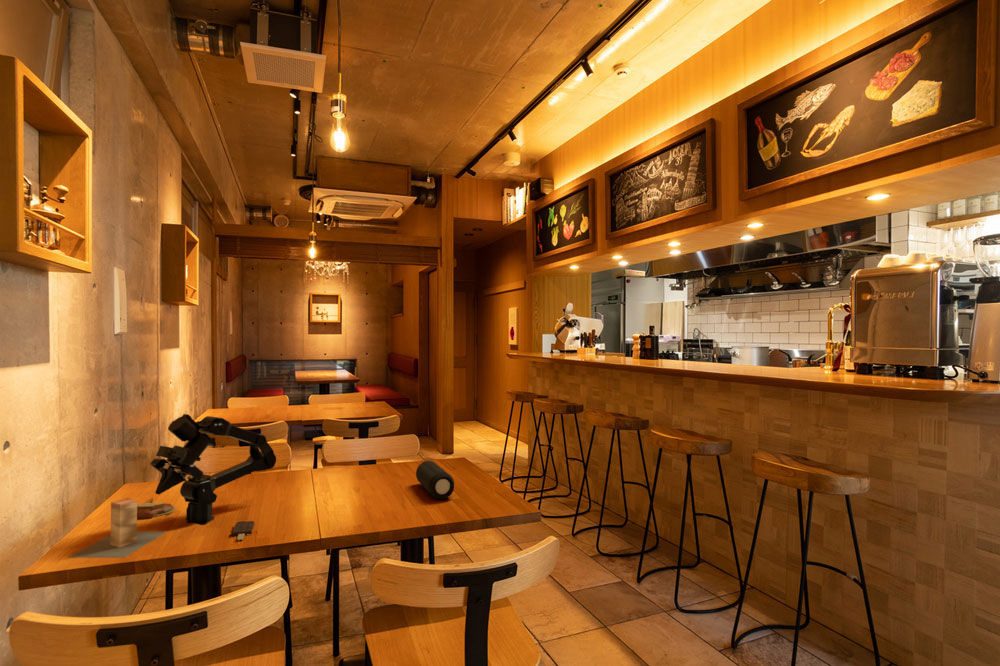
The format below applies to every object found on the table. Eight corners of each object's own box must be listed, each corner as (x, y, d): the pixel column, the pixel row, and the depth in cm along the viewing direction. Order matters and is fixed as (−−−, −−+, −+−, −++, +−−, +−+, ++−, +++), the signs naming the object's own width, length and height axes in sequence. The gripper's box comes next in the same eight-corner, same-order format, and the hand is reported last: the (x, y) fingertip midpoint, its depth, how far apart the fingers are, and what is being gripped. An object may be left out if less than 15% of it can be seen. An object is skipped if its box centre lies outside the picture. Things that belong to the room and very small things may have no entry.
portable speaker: (456, 499, 200) (456, 472, 200) (430, 502, 196) (430, 475, 196) (437, 482, 224) (437, 458, 224) (414, 484, 220) (414, 460, 220)
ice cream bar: (249, 541, 158) (254, 524, 172) (249, 536, 158) (254, 519, 172) (229, 544, 156) (236, 526, 170) (229, 538, 156) (236, 521, 170)
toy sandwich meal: (184, 510, 185) (184, 496, 185) (150, 523, 172) (150, 508, 172) (154, 507, 188) (154, 493, 188) (118, 519, 175) (118, 505, 175)
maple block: (127, 539, 156) (128, 498, 156) (136, 542, 154) (137, 500, 154) (110, 544, 152) (111, 502, 152) (119, 547, 150) (120, 504, 150)
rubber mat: (167, 533, 162) (167, 531, 162) (124, 559, 143) (124, 557, 143) (116, 533, 162) (116, 531, 162) (67, 559, 143) (67, 557, 143)
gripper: (156, 432, 170) (118, 475, 160) (194, 437, 162) (156, 483, 152) (180, 452, 177) (145, 494, 167) (218, 458, 169) (183, 503, 159)
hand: (156, 493), depth 161 cm, fingers closed
